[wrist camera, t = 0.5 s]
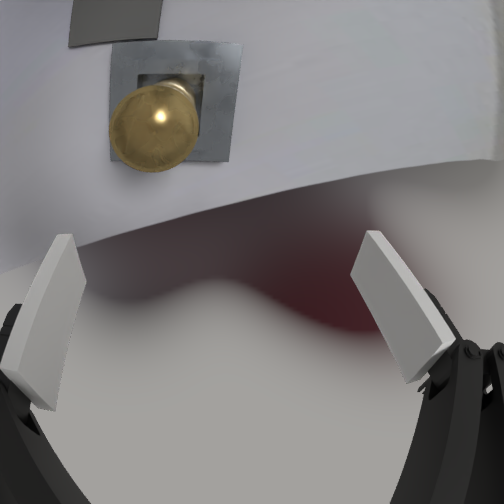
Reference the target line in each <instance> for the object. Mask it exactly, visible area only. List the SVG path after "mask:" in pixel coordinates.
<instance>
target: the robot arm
mask: <svg viewBox="0 0 504 504" xmlns="http://www.w3.org/2000/svg"><path fill="white" fill-rule="evenodd" d="M351 277H352V279H353V280H354V282H355V284H356V286H357V288H358V289H359V291H360V293H361V295H362V297H363V299H364V300H365V302H366V304H367V306H368V308H369V310H370V312H371V313H372V315H373V317H374V319H375V321H376V323H377V325H378V327H379V329H380V331H381V333H382V335H383V337H384V339H385V340H386V342H387V344H388V346H389V348H390V350H391V353H392V354H393V357H394V359H395V361H396V363H397V365H398V367H399V369H400V371H401V373H402V375H403V377H404V380H405V382H406V384H408V383H411V382H414V381H417V380H420V379H421V378H422V377H423V376H424V375H425V374H426V373H427V372H428V373H429V375H430V377H429V378H428V379H427V380H426V381H425V382H424V383H423V384H422V385H421V386H420V387H419V389H418V392H420V391H421V390H422V389H423V388H424V387H426V388H425V391H424V392H423V393H422V394H424V397H423V401H422V406H421V410H420V414H419V418H418V422H417V426H416V429H415V433H414V436H413V440H412V443H411V447H410V450H409V453H408V456H407V459H406V462H405V465H404V468H403V471H402V474H401V476H400V479H399V482H398V485H397V487H396V490H395V492H394V494H393V497H392V499H391V502H390V504H504V344H503V343H500V342H497V343H496V344H495V345H494V346H493V347H492V348H491V349H490V350H484V349H480V348H479V347H478V345H477V344H476V343H474V342H473V341H470V340H463V339H462V337H461V336H460V334H459V332H458V331H457V329H456V328H455V326H454V325H453V323H452V321H451V320H450V318H449V317H448V315H447V314H445V311H444V310H443V308H442V307H441V306H440V304H439V302H438V300H437V299H436V298H435V296H434V295H433V294H431V293H430V292H429V291H428V290H427V289H423V288H422V286H421V285H420V283H419V282H418V281H417V279H416V278H415V276H414V275H413V274H412V272H411V271H410V270H409V268H408V267H407V266H406V264H405V263H404V262H403V260H402V259H401V258H400V256H399V255H398V254H397V252H396V251H395V250H394V248H393V247H392V246H391V245H390V243H389V242H388V241H387V239H386V238H385V237H384V236H383V234H382V233H381V232H380V231H366V234H365V237H364V240H363V243H362V245H361V248H360V251H359V253H358V256H357V259H356V261H355V264H354V267H353V269H352V272H351ZM86 283H87V281H86V278H85V275H84V272H83V269H82V266H81V263H80V259H79V256H78V252H77V249H76V245H75V242H74V238H73V234H57V236H56V238H55V239H54V241H53V243H52V245H51V247H50V249H49V250H48V252H47V254H46V256H45V258H44V260H43V262H42V264H41V266H40V268H39V270H38V272H37V274H36V276H35V278H34V280H33V282H32V284H31V286H30V289H29V291H28V293H27V295H26V297H25V300H24V302H23V304H15V305H14V306H13V308H12V309H11V310H10V311H9V312H8V314H7V316H6V318H5V321H4V323H3V327H2V328H1V331H0V504H91V503H90V502H89V501H88V499H87V498H86V497H85V496H84V494H83V493H82V492H81V490H80V489H79V488H78V486H77V485H76V484H75V482H74V481H73V479H72V478H71V476H70V475H69V473H68V472H67V471H66V469H65V468H64V466H63V465H62V463H61V462H60V460H59V458H58V457H57V455H56V454H55V452H54V450H53V449H52V447H51V445H50V444H49V442H48V440H47V438H46V437H45V435H44V433H43V431H42V430H41V428H40V426H39V424H38V422H37V420H36V418H35V416H34V414H33V413H32V411H31V410H30V404H31V402H32V403H33V404H34V405H35V406H36V407H37V408H40V409H44V410H50V411H55V410H56V404H57V398H58V392H59V386H60V381H61V376H62V370H63V366H64V362H65V357H66V353H67V349H68V345H69V341H70V337H71V333H72V329H73V326H74V322H75V318H76V315H77V311H78V308H79V305H80V301H81V298H82V295H83V292H84V288H85V286H86ZM491 384H492V387H493V390H492V391H490V392H489V393H488V394H487V392H486V388H487V387H488V386H490V385H491Z"/></svg>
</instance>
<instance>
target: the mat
mask: <svg viewBox="0 0 504 504" xmlns="http://www.w3.org/2000/svg"><path fill="white" fill-rule="evenodd" d="M162 2H163V0H74V2H73V8H72V16H71V24H70V33H69V44H68V47H73V46H79V45H86V44H93V43H100V42H109V41H119V40H132V39H152V38H158V31H159V23H160V15H161V8H162Z"/></svg>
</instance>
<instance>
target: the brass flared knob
mask: <svg viewBox="0 0 504 504" xmlns="http://www.w3.org/2000/svg"><path fill="white" fill-rule="evenodd" d="M195 108H196V95H195V92H194V90H193V88H192V86H191V85H190V84H189V83H187V82H186V81H184V80H182V79H179V78H166V79H163V80H161V81H159V82H157V83H155V84H154V85H148V86H144V87H141V88H139V89H137V90H135V91H133V92H131V93H130V94H128V95H127V96H126V97H124V98H123V99H122V100H121V101H120V103H119V104H118V105H117V107H116V108H115V110H114V112H113V114H112V117H111V120H110V125H109V137H110V142H111V145H112V147H113V149H114V151H115V153H116V154H117V156H118V157H119V158H120V159H121V160H122V161H123V162H124V163H125V164H127V165H128V166H130V167H132V168H134V169H136V170H139V171H143V172H161V171H165V170H169V169H171V168H173V167H175V166H177V165H178V164H180V163H181V162H182V161H184V160H185V159H186V158H187V157H188V155H189V154H190V153H191V151H192V150H193V148H194V146H195V144H196V141H197V138H198V132H199V120H198V115H197V111H196V109H195Z"/></svg>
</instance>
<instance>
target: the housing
mask: <svg viewBox="0 0 504 504" xmlns="http://www.w3.org/2000/svg"><path fill="white" fill-rule="evenodd" d="M242 52H243V44H234V43H223V42H208V41H182V40H162V41H136V42H122V43H113V45H112V58H111V74H110V112H109V118H110V120H111V117H112V114H113V112H114V110H115V108H116V107H117V105H118V104H119V103H120V101H121V100H122V99H123V98H124V97H126V96H127V95H128V94H130V93H131V92H133V91H135V90H137V89H139V88H141V87H144V86H148V85H154V84H155V83H157V82H159V81H161V80H163V79H166V78H179V79H182V80H184V81H186V82H187V83H189V84H190V85H191V86H192V88H193V90H194V92H195V95H196V108H195V109H196V111H197V115H198V120H199V132H198V138H197V141H196V144H195V146H194V148H193V150H192V151H191V153H190V154H189V155H188V157H187V158H186V159H185V160H188V161H218V162H229V153H230V145H231V136H232V128H233V119H234V111H235V103H236V96H237V88H238V81H239V73H240V66H241V59H242ZM110 156H111V161H122V160H121V159H120V158H119V157H118V156H117V154H116V153H115V151H114V149H113V147H112V145H111V142H110Z"/></svg>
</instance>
